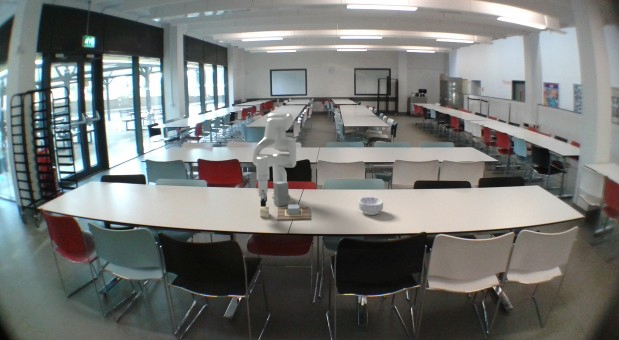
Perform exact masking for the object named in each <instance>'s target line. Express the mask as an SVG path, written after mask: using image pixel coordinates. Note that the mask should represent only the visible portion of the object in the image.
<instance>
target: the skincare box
mask: <svg viewBox="0 0 619 340" xmlns="http://www.w3.org/2000/svg"><path fill="white" fill-rule="evenodd" d="M273 194H274V198H273V205H275V206H277V208H278V207H286V206H288V205H290V204H289V203H290V202H289V201H290V200H289V199H290V195H289V196H288V194H289V182H288V181H287V182H285V181H278V182H274V183H273Z"/></svg>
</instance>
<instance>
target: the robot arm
mask: <svg viewBox="0 0 619 340" xmlns="http://www.w3.org/2000/svg"><path fill="white" fill-rule="evenodd" d="M265 123H266V124H265V127H264V135H263V138H262V140H260V141H259V142H258V143H257V144H256V146H255V148H254V151H253V155H252V163H253V165H254V166H256V180H257V181H258V185H257V186H258V197H260V200H259V201H260V208H261V207H267V202H268V191H269V190H268V188H269V187H268V181H269V180H270V168H271V167H272V178H273V179H272V180H273V183H274V182H278V181H285V182H288V181H287V176H288V175H287V171H286V169H285V168H295V167H296V166H297V142H296V140H295V139H294V138H289V137H286V131H288V130H289V129H290V128H291V126H292V125H293V123H294V117H293V114H291V113H289V112H287V113H283V112H281V113H279V112H278V113H277V112H276V113H275V112H273V113H268V115H267V120H266V122H265ZM272 145H273V150H274V151H275V152H279V153H274V154H269V153H268V154H265V153H261V152H262V151H263V149H266V148H268V147H269V146H272ZM280 152H282V153H280ZM284 152H285V153H284ZM288 196H289V197H290V194H289V193H288ZM271 197H272V199H274V193H272V194H271Z"/></svg>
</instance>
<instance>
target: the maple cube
mask: <svg viewBox="0 0 619 340" xmlns="http://www.w3.org/2000/svg"><path fill="white" fill-rule="evenodd" d="M259 214H260V218H269V216H270V207H269V206H266V207H261V206H260V207H259Z"/></svg>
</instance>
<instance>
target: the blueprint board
mask: <svg viewBox="0 0 619 340" xmlns="http://www.w3.org/2000/svg"><path fill="white" fill-rule="evenodd" d="M276 220H277V221H279V222H280V221H307V220H308V221H310V220H311V214H310V207H309V206H300V204H289V205H287V206H281V207H278V206H277V217H276Z"/></svg>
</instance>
